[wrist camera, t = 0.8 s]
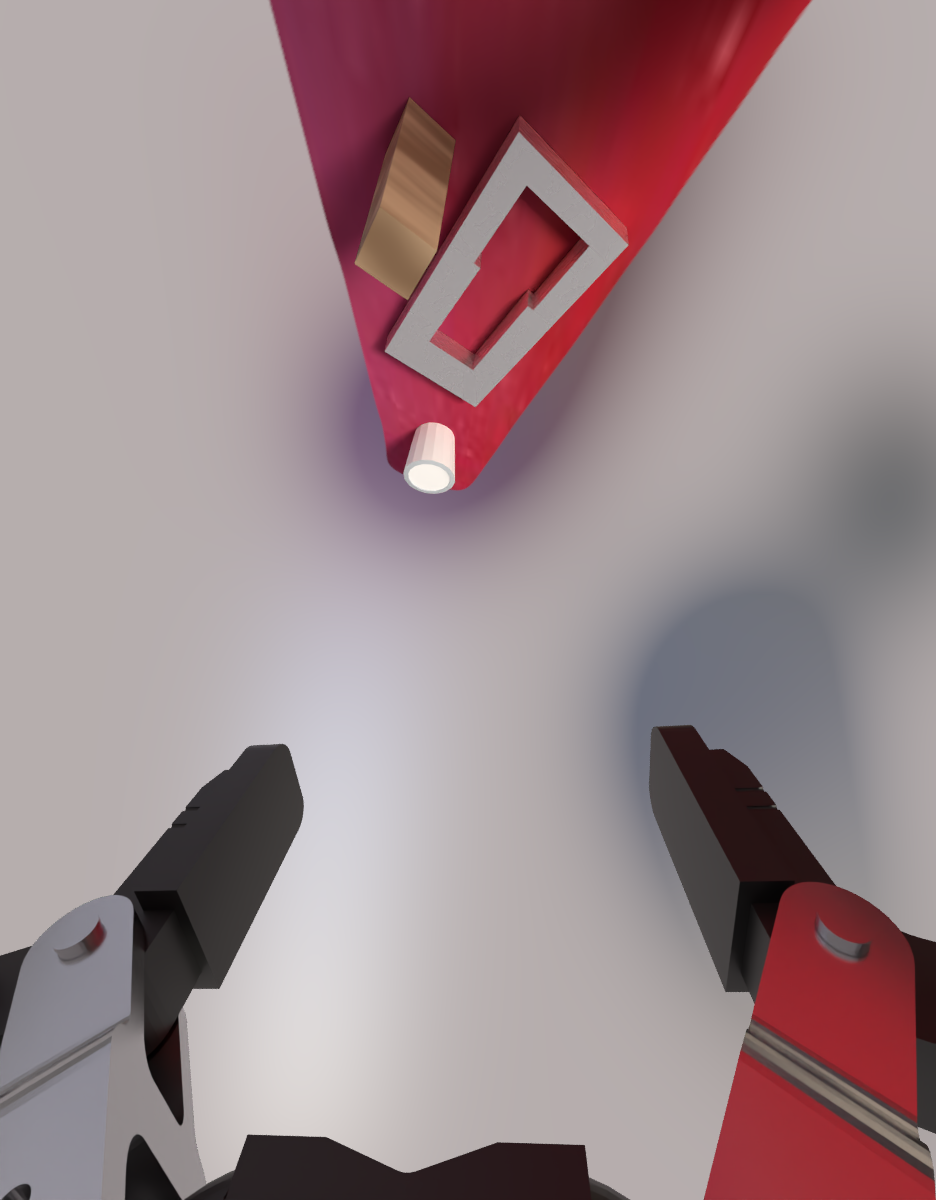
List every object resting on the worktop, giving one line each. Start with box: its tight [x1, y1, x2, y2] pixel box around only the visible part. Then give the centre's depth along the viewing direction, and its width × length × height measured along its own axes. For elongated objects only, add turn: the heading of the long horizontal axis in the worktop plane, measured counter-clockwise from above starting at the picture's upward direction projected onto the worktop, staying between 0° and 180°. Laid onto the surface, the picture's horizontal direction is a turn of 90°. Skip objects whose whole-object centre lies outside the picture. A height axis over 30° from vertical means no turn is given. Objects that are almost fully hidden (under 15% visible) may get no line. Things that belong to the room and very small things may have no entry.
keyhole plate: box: [385, 115, 629, 407], centre depth 45 cm, size 22×12×2 cm, turn 145°
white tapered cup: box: [403, 423, 455, 494], centre depth 63 cm, size 7×7×7 cm
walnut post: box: [355, 97, 456, 300], centre depth 33 cm, size 4×4×14 cm
